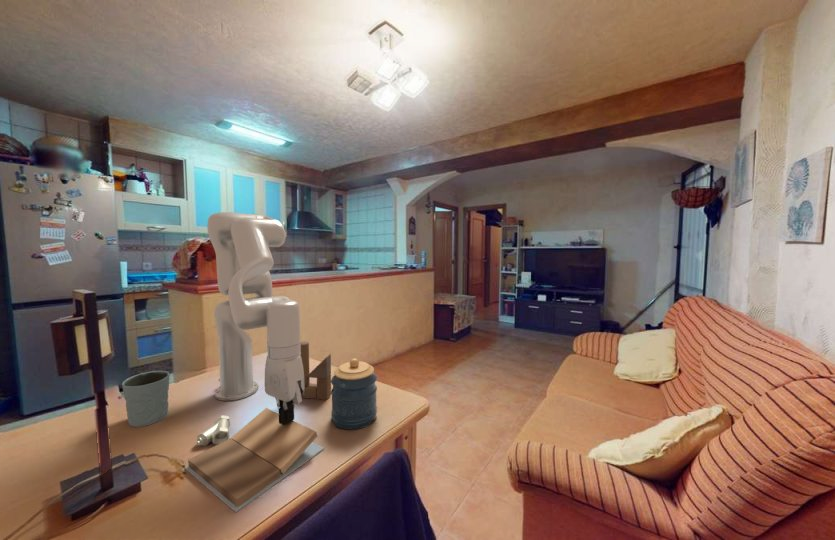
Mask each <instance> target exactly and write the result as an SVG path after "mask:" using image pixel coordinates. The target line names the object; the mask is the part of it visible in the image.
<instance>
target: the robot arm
mask: <svg viewBox="0 0 835 540" xmlns="http://www.w3.org/2000/svg"><path fill="white" fill-rule="evenodd" d="M206 223H207V224H206V227H207V233H208V237H209V241H210V243H211V244H212V247H213V250H214V253H215V258H216V262H215V263H216V275H217V286H218V292H220V294H221V295H223V296H227V297H228V300H223V301H220V302H219V303H218V304H217V305H216V306H215V307H214V309H213V318H214V322H215V327H216V332H217V339H218V361H219V379H218V382H219V388H218V389H217V390H215V393H214V397H215V399H217V400H219V401H225V402H226V401H236V400H241V399H244V398H247V397H249V396H252V395H253V394H255V393H256V392H257V391H258V389H259V383H257V381H254V374H253V373H254V372H253V371H254V369H253V367H254V365H253V346H252V345H253V344H252V343H253V341H252V338H251V336H250V334H248V333H247V331H246V330H253V329H255V330H256V329H260V328H265V327H266V340H267V342H266V344H267V355H266V359H265V364H264V365H265V366H264V367H265V368H264V391H265V393H266V395H268V396H270V397H272V398H275V401H276V407H277V408H278V414H279V423H280V424H282V425H286V424H287V423H289V422H291V421H294V420H295V406H296V405H299V404H302V402H303V398H301V395H303V394H304V389H305V383H304V371H303V364H302V359H301V356H300V355H301V345H300V342H301V318H300V317H301V313H300V311H301V310H300V304H299V302H298V301H296V300H293V299H290V298H289V297H287V296H284V295H279V296H273V294H274V293H273V279H272V275H271V272H270V271H271V269H273V267H274V264H275V263H274V258H273V256H272V255H273V254H272V252H271V249H270V248H279V247H281V246H283V245H284V244H285V242H286V239H287V236H286V235H287V234H286V230H285V228H284V227H285V226H284V225H283V224H282V223H281V222H280V221H279V220H278V219H275V218H272V217H270V216H268V215H263V214H253V213H242V212H231V211H230V212H228V211H223V212H215V213H212V214H210V215H209V217H208V219H207V222H206ZM253 294H255V296H254V297H246V298H245V296H244V295H253Z"/></svg>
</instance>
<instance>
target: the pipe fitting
mask: <svg viewBox="0 0 835 540" xmlns="http://www.w3.org/2000/svg"><path fill="white" fill-rule="evenodd" d="M230 425H231V421H230V416H228V415H219V417H217V418H216V419H215V420H214V421H213V424H212V425H211V426H209V427H208V428H206V429H205V430H203V431H202V432H200V433H199V434H198V435H197V439H196V445H197V446H205V447H206V446H207V445H209V444H210V443H212V444H213V445H218V444H220V443H222V442H224V441H226V440H228V439H230V432H229V431H230V430H229V429H230Z"/></svg>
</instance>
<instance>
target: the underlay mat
mask: <svg viewBox="0 0 835 540" xmlns="http://www.w3.org/2000/svg"><path fill="white" fill-rule="evenodd" d="M324 450H325V448H324V447H323V446H321V445H319V444H317V443H315V442H314V441H313V442H312V443H311V444H310V445H309V446H308V447H307V449H306V450H305V451H304V452H303V453H302V454H301V455H300V456H299V457H298V458H297V460H296V461H295V462H294V463H293V464H292V465H291V466H290V467H289V468H288V469H287V471H286V472H285V473H284V474H282V473H281V472H280V478H278V479H277V480H275V481H274V482H272V483H271V484H270V485H268V486H267V487H265V488H264V489H263V490H261V491H260V492H258V493H257V494H255V495H254V496H253V497H251V498H250V499H248V500H247V501H246V502H244V503H243V504H241V505H240V506H238V507H236V506H235V505H234V504H233V503H232V502H230V501H229V500H228V499H227V498H226V497H224V496H223V495H222V494H221V493H220V492H218V491H217V490H216V489H215V488H214V487H212V486H211V485H210V484H209V483H208V482H206V481H205V480H204V479H203V478H202V477H200V476H199V475H198V474H197V473H196V472H194V471H193V470H192V469H191V468H190V467H189V466H188V465H186V466H184V469H185V470H186V471H187V472H188V473H190V475H192V476H193V477H194V478H195V479H196V480H197V481H199V482H200V483H201V484H202V485H203V486H205V487H206V488H207V489H208V490H209V491H210V492H211V493H212V494H214V495H215V496H216V497H217V498H219V500H221V501H222V502H223V503H224V504H226V505H227V506H228V507H229V508H231V510H232V511H234V512H235V513H238V512H239V511H241V510H242V509H243V508H245V507H246V506H248V504H250V503H252V502H253V501H254V500H256V499H257V498H258V497H260V496H261V495H263V494H264V493H265V492H267V491H268V490H270V489H271V488H272V487H274V486H276V485H277V484H278V483H279V482H280V481H282V480H284V479H285V478H286V477H288V476H289V475H290V474H292V473H293V472H295V471H296V470H297V469H299V468H300V467H301V466H303V465H304V464H306V463H307V462H308V461H310V460H311V459H312V458H315V456H317V455H319V453H321V452H323V451H324Z"/></svg>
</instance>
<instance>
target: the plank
mask: <svg viewBox="0 0 835 540" xmlns="http://www.w3.org/2000/svg"><path fill="white" fill-rule="evenodd" d="M230 438H231V439H232V440H234V441H235V442H237V443H239V444H240V445H242V446H243V447H245V448H246V449H248V450H250V451H251V452H253V453H254V454H256V455H257V456H259V457H261V458H262V459H264V460H265V461H267V462H268V463H270V464H272V465H273V466H275V467H276V468H278V469H279V470H280V472H281V473H282V474H284V473H285V472H286V471H287V469H288V468H289V467H290V466H291V465H292V464H293V463H294V462H295V461H296V460H297V458H298V457H299V456H300V455H301V454H302V453H303V452H304V451H305V450H306V449H307V447H308V446H309V445H310V444H311V443H312V442H313V443H314V441H315V440H316V439H317V438H318V434H317V431H315V430H313V429H311V428H309V427H307V426H305V425H303V424H301V423H300V422H297V421H294V420H293V421H291V422H289V423H287V424H286V425H282V424H280V423H279V412H276V411H274V410H272V409H269V407H268V408H267V407H265V408H264V409H263V410H262V411H261V412H259V413H258V414H257V415H256V416H255V417H253V418H252V419H251V420H250V421H249V422H248V423H247V424H245V425H244V426H243V427H242V428H241V429H239V431H237V432H235V434H234V435H233V436H231V437H230Z"/></svg>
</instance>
